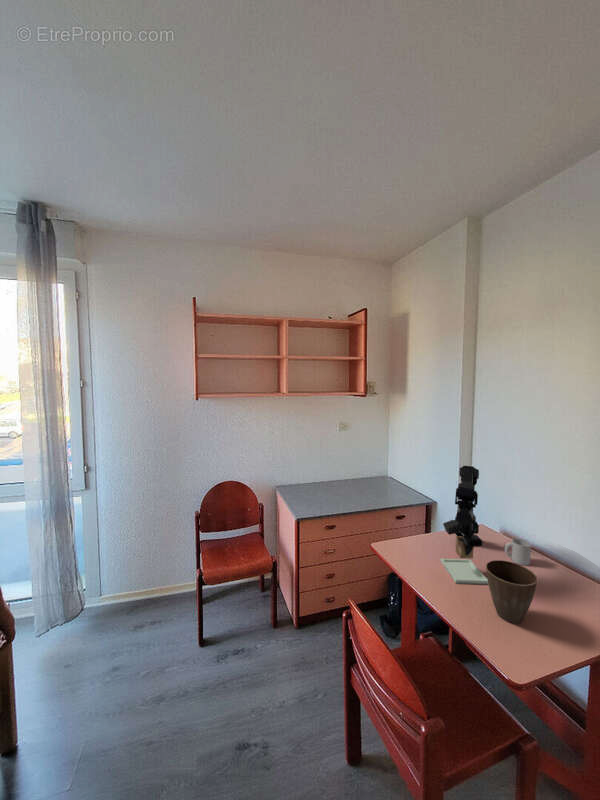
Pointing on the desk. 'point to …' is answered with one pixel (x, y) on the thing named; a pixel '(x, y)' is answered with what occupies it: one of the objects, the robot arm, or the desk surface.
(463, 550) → the walnut block
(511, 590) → the plant pot
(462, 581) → the tray
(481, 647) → the desk surface
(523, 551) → the cup
